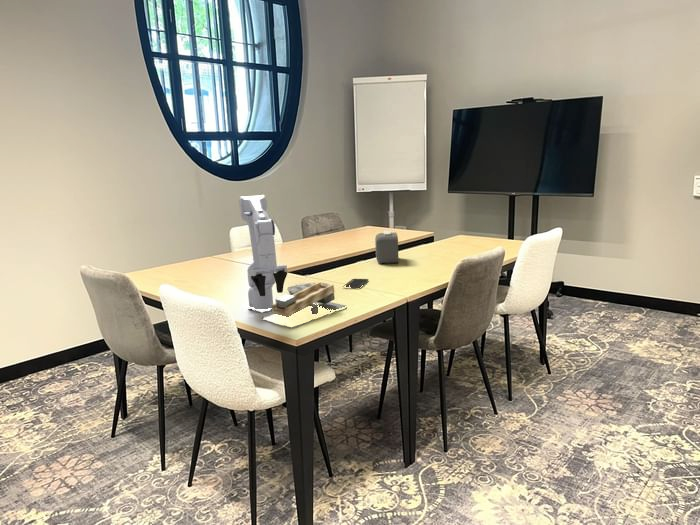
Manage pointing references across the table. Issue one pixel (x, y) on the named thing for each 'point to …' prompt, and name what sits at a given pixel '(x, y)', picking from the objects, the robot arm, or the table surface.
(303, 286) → the brain slice
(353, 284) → the phone
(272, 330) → the table surface
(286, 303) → the steel block
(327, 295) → the balance beam
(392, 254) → the alarm clock
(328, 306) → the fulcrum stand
